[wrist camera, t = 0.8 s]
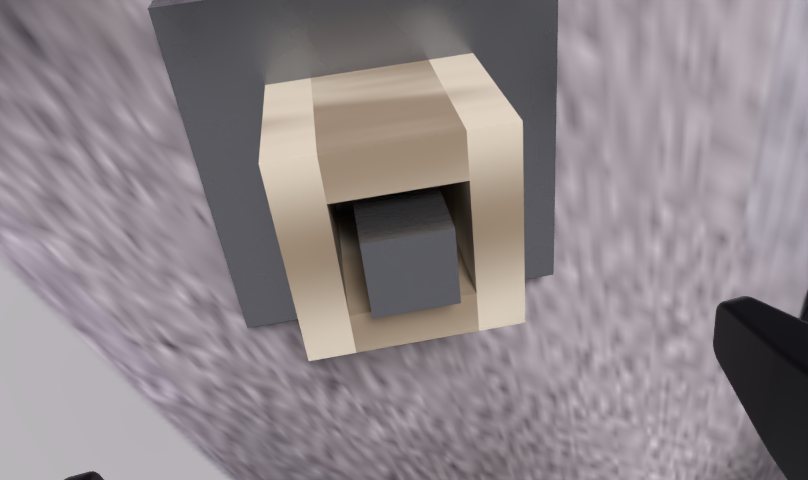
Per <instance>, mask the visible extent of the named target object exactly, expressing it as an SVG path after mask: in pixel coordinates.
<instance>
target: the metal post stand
mask: <svg viewBox="0 0 808 480" xmlns="http://www.w3.org/2000/svg"><path fill="white" fill-rule="evenodd" d="M148 10H149V13H150V16H151V20H152V23H153V26H154V29H155V32H156V36H157V39H158V42H159V45H160V48H161V52H162V55H163V58H164V61H165V65H166V68H167V71H168V74H169V77H170V81H171V84H172V87H173V90H174V93H175V97H176V100H177V103H178V106H179V110H180V113H181V116H182V119H183V122H184V126H185V129H186V132H187V135H188V139H189V142H190V145H191V148H192V151H193V155H194V158H195V161H196V164H197V167H198V171H199V174H200V177H201V180H202V184H203V187H204V190H205V193H206V196H207V200H208V203H209V206H210V209H211V212H212V216H213V219H214V222H215V225H216V229H217V232H218V235H219V238H220V241H221V245H222V248H223V251H224V254H225V258H226V261H227V264H228V267H229V270H230V274H231V277H232V280H233V283H234V286H235V290H236V293H237V296H238V299H239V303H240V306H241V309H242V312H243V315H244V319H245V322H246V325H247V328H251V327H256V326H262V325H268V324H273V323H279V322H285V321H290V320H296V319H298V317H297V313H296V309H295V305H294V301H293V297H292V293H291V290H290V286H289V282H288V278H287V274H286V270H285V266H284V262H283V258H282V254H281V250H280V246H279V242H278V238H277V234H276V230H275V227H274V223H273V219H272V215H271V211H270V207H269V203H268V199H267V195H266V191H265V187H264V183H263V179H262V175H261V171H260V167H259V152H260V140H261V128H262V116H263V104H264V92H265V85H269V84H276V83H282V82H289V81H295V80H301V79H308V78H314V77H321V76H327V75H334V74H340V73H347V72H353V71H360V70H366V69H373V68H379V67H386V66H392V65H399V64H405V63H411V62H418V61H424V60H431V59H437V58H444V57H450V56H457V55H463V54H470V53H473V54H474V55H475V56H476V58H477V59H478V61H479V62H480V63H481V65H482V66H483V67H484V69H485V70H486V71H487V73H488V74H489V76H490V77H491V78H492V80H493V81H494V82H495V84H496V85H497V86H498V88H499V89H500V91H501V92H502V93H503V95H504V96H505V97H506V99H507V100H508V101H509V103H510V104H511V106H512V107H513V108H514V110H515V111H516V112H517V114H518V115H519V116H520V118H521V119H522V121H523V178H524V262H525V279H530V278H535V277H541V276H547V275H553V265H554V207H555V149H556V91H557V33H558V0H153V2H152V3H151V5H150V6H149V8H148ZM335 207H336V213H337V218H341V217H347V216H353V215H355V218H356V224H357V231H358V237H359V243H360V249H361V255H362V261H363V266H364V272H365V278H366V283H367V289H368V295H369V301H370V306H371V312H372V318H373V319H374V318H380V317H386V316H391V315H397V314H403V313H408V312H414V311H420V310H425V309H431V308H437V307H442V306H448V305H454V304H459V303H461V297H460V284H459V271H458V259H457V246H456V233H455V227H454V224H453V222H452V219H451V216H450V214H449V211H448V209H447V206H446V204H445V201H444V199H443V196H442V193H441V191H440V186H434V187H428V188H422V189H416V190H410V191H404V192H398V193H392V194H386V195H380V196H374V197H368V198H362V199H356V200H350V201H344V202H338V203H335Z"/></svg>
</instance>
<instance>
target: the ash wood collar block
mask: <svg viewBox="0 0 808 480" xmlns="http://www.w3.org/2000/svg"><path fill="white" fill-rule="evenodd" d="M259 167H260V171H261V175H262V179H263V183H264V187H265V191H266V195H267V199H268V203H269V207H270V211H271V215H272V219H273V223H274V227H275V230H276V234H277V238H278V242H279V246H280V250H281V254H282V258H283V262H284V266H285V270H286V274H287V278H288V282H289V286H290V290H291V293H292V297H293V301H294V305H295V309H296V313H297V317H298V321H299V325H300V329H301V333H302V337H303V341H304V345H305V349H306V352H307V356H308V360H309V361H313V360H319V359H324V358H330V357H336V356H341V355H347V354H352V353H358V352H363V351H369V350H375V349H380V348H386V347H391V346H397V345H403V344H408V343H414V342H419V341H425V340H430V339H436V338H442V337H447V336H453V335H458V334H464V333H469V332H475V331H481V330H486V329H492V328H497V327H503V326H508V325H514V324H520V323H525V262H524V178H523V121H522V119H521V118H520V116H519V115H518V114H517V112H516V111H515V110H514V108H513V107H512V106H511V104H510V103H509V101H508V100H507V99H506V97H505V96H504V95H503V93H502V92H501V91H500V89H499V88H498V86H497V85H496V84H495V82H494V81H493V80H492V78H491V77H490V76H489V74H488V73H487V71H486V70H485V69H484V67H483V66H482V65H481V63H480V62H479V61H478V59H477V58H476V56H475V55H474V54H473V53H470V54H463V55H457V56H450V57H444V58H437V59H431V60H424V61H418V62H411V63H405V64H399V65H392V66H386V67H379V68H373V69H366V70H360V71H353V72H347V73H340V74H334V75H327V76H321V77H314V78H308V79H301V80H295V81H289V82H282V83H276V84H269V85H265V92H264V104H263V116H262V128H261V140H260V152H259ZM434 186H440V191H441V193H442V196H443V199H444V201H445V204H446V206H447V209H448V211H449V214H450V216H451V219H452V222H453V224H454V227H455V233H456V246H457V259H458V271H459V284H460V297H461V303H459V304H454V305H448V306H442V307H437V308H431V309H425V310H420V311H414V312H408V313H403V314H397V315H391V316H386V317H380V318H374V319H373V318H372V312H371V306H370V301H369V295H368V289H367V283H366V278H365V272H364V266H363V261H362V255H361V249H360V243H359V237H358V231H357V224H356V218H355V215H353V216H347V217H341V218H337V213H336V207H335V203H338V202H344V201H350V200H356V199H362V198H368V197H374V196H380V195H386V194H392V193H398V192H404V191H410V190H416V189H422V188H428V187H434Z"/></svg>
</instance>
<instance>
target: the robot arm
mask: <svg viewBox="0 0 808 480" xmlns="http://www.w3.org/2000/svg"><path fill="white" fill-rule="evenodd" d="M713 348H714V352H715V355H716V358H717V360H718V362H719V364H720V365H721V367H722V369H723V371H724V373H725V375H726V376H727V378H728V380H729V382H730V384H731V385H732V387H733V389H734V391H735V393H736V394H737V396H738V398H739V400H740V402H741V404H742V405H743V407H744V409H745V411H746V413H747V414H748V416H749V418H750V420H751V422H752V424H753V425H754V427H755V429H756V431H757V433H758V434H759V436H760V438H761V440H762V441H763V443H764V445H765V446H766V448H767V450H768V452H769V453H770V455H771V456H772V458H773V459H774V461H775V462H776V464H777V465H778V467H779V468H780V469H781V471H782V472H783V474H784V475H785V477H786V478H787V479H788V480H808V309H807V312H806V316H805V319H804V321H803V320H801V319H799V318H797V317H794V316H792V315H790V314H788V313H785V312H783V311H781V310H779V309H777V308H774V307H772V306H770V305H768V304H766V303H763V302H761V301H759V300H757V299H754V298H752V297H748V296H743V297H739V298H735V299H731V300H727V301H724V302H721V303H720V304H719V305H718V307H717V309H716V317H715V327H714V338H713ZM65 480H104V479H103V478H102V477H101V476H100V475H99V474H98V473H96V472H94V471H92V472H87V473H83V474H79V475H75V476H71V477H68V478H66V479H65Z"/></svg>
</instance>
